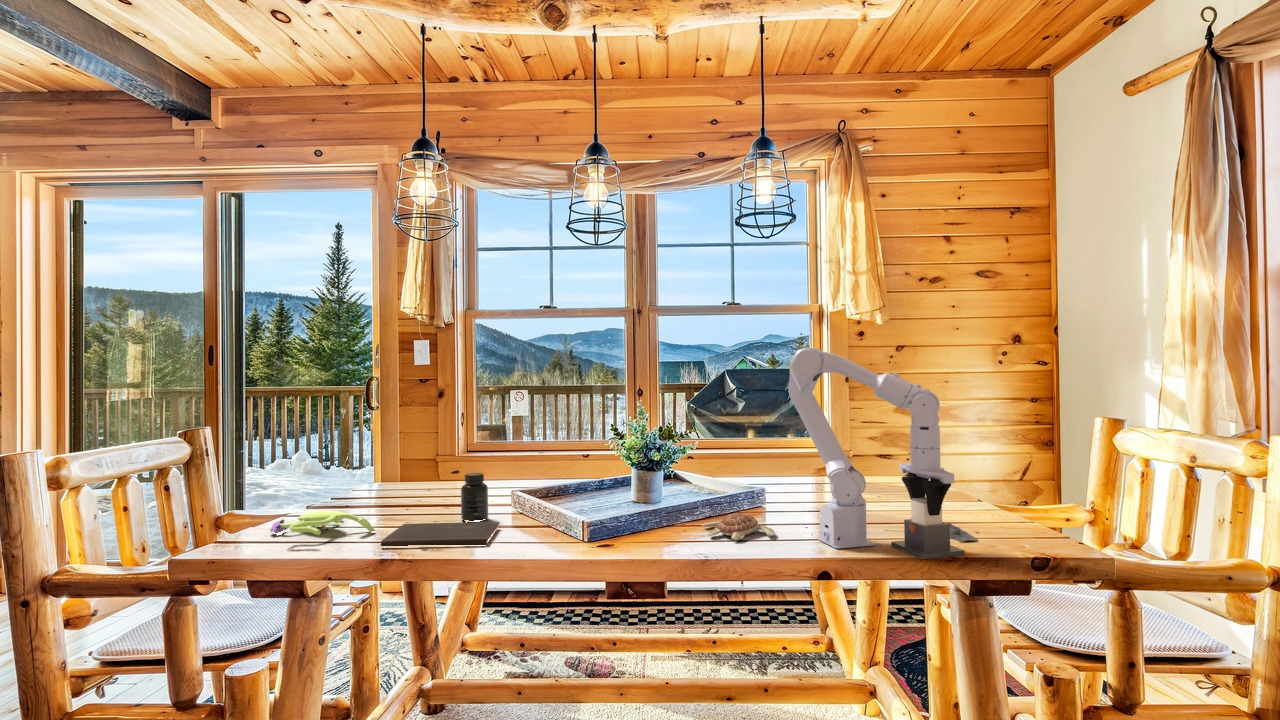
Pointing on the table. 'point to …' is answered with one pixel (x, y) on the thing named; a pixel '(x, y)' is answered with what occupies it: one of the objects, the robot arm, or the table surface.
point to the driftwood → (960, 534)
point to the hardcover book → (441, 534)
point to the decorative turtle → (737, 526)
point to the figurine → (318, 522)
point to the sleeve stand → (927, 541)
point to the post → (923, 513)
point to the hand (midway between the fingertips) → (926, 512)
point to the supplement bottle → (474, 498)
